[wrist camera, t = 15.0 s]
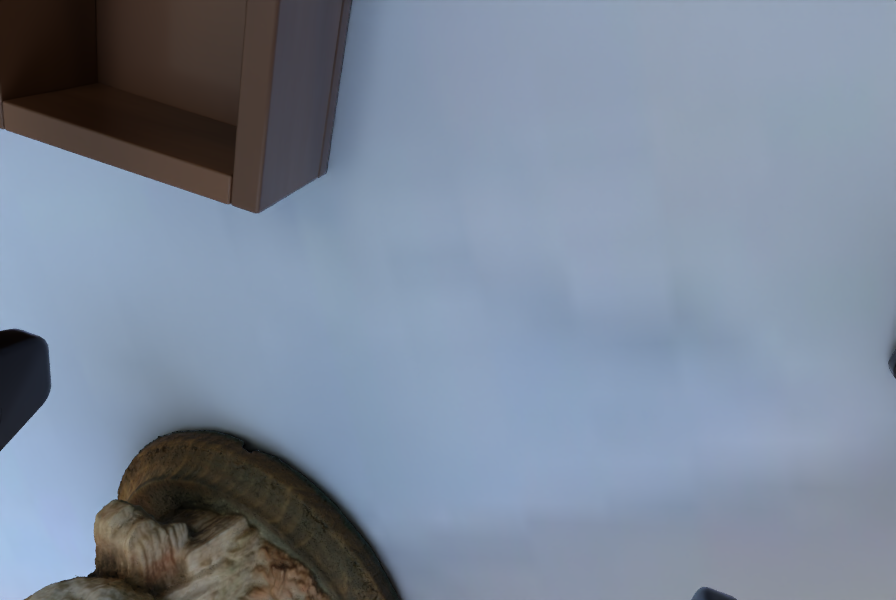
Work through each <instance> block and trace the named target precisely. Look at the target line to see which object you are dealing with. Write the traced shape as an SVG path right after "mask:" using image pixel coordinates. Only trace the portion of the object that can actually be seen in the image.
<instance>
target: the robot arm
mask: <svg viewBox="0 0 896 600" xmlns="http://www.w3.org/2000/svg"><path fill="white" fill-rule="evenodd" d="M889 369H890V371H891V372H892V374H893V376H894V377H895V378H896V349H895V351H894V353H893V354H892V356H891V358H890V360H889ZM50 389H51V375H50V361H49V348H48V344H47V343H46V341H45V340H44V339H43V338H42V337H40V336H37V335H34V334H32V333H29V332H26V331H24V330H20V329H8V330H3V331H0V451H1V450H2V449H3V448H4V447H5V445H6V444H7V443H8V442H9V441H10V440H11V439H12V438H13V437H14V436H15V434H16V433H17V432H18V431H19V430H20V429H21V428H22V427H23V426H24V425H25V423H26V422H27V421H28V420H29V419H30V418H31V417H32V416H33V415H34V414H35V413H36V411H37V410H38V409H39V408H40V407H41V406H42V405H43V403H44V402H45V401H46V399H47V397H48V395H49V393H50ZM691 600H737V599H736V598H734V597H732V596H730V595H727V594H724V593H722V592H719V591H716V590H714V589H711V588H708V587H702V588H700V589H699V590H698V591H697V592H696V593H695V595H694V596H693V598H692V599H691Z"/></svg>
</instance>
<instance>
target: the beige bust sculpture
mask: <svg viewBox="0 0 896 600" xmlns="http://www.w3.org/2000/svg"><path fill="white" fill-rule="evenodd" d="M243 445H244V442H243V441H241V440H239V439H237V438H234V437H232V436H230V435H227V434H222V433H218V432H216V431H205V430H204V431H200V430H199V431H192V432H191V431H187V432H183V431H182V432H181V431H180V432H178V431H176V432H174V433H173V432H172V434H170V435H164V436H162V437H160V436H158V438H157V439H156V440H155V441H154V440H153V442H150V443H149V444H147V445H146V446H145V447H144V448H143V449H142V450H140V451H139V454H138V455H137V456H135V458H134V459H133V460H132V462H131V463H130V465H129V467H128V468H127V469H126V470H125V473H124V475H123V477H122V481H121V482H120V486H119V489H118V500H117V499H115V500H112V501H111V502H110V503H108V504H107V505H106V506H104V507H103V509H102V510H101V511H99V512H98V513H97V515H96V519H95V523H94V538H95V542H96V550H95V551H96V558H95V565H96V569H95V571H94V572H93V573H90V574H89V575H88V577H85V576H84V577H76V578H73V579H69V580H63V581H60V582H58V583H54V584H50V585H48V586H46V587H44V588H42V589H41V590H39V591H37V592H35V593H34V594H33V595H31V596H29V597H28V598H26V599H24V600H399V599H398V597H397V595H396V593H395V591H394V589H393V587H392V585H391V583H390V581H389V580H388V577H387V575H386V573H385V572H384V570H383V569H382V567H381V565H380V563H379V561H378V559H377V558H376V556H375V554H374V552H373V551H372V549H371V548H370V546H369V545H368V543H367V542H366V541H365V540H364V539H363V538H362V536H361V535H360V534H359V533H358V532H357V530H356V529H355V528H354V526H353V525H352V524H351V523H350V522H349V521H348V520H347V519H346V517H345V516H344V514H343V513H342V512H341V511H340V510H339V508H338V507H337V506H336V505H335V504H334V503H333V502H332V501H331V500H330V499H329V498H328V497H326V495H325V494H324V493H323V492H322V491H321V490H319V489H318V488H317V487H316V486H315V485H314V484H313V483H311V482H310V481H309V480H308V479H307V478H306V477H304V476H303V475H302V474H300V473H299V472H297V471H295V470H294V469H292V468H291V467H290V466H288V465H287V464H285V463H284V462H282V461H281V460H279V459H278V458H277V457H273V456H271V455H269V454H265V453H262V452H259V451H258V450H256V451H252V453H250V452H248V451H247V450H245V449H243V448H242V446H243ZM75 576H76V575H75Z"/></svg>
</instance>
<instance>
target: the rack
mask: <svg viewBox="0 0 896 600" xmlns="http://www.w3.org/2000/svg"><path fill="white" fill-rule="evenodd" d="M351 2H352V0H0V128H1V129H6V130H7V131H10V132H13V133H16V134H19V135H22V136H25V137H28V138H31V139H34V140H37V141H40V142H43V143H46V144H49V145H52V146H55V147H58V148H61V149H64V150H67V151H70V152H73V153H76V154H79V155H82V156H85V157H88V158H91V159H94V160H97V161H100V162H103V163H106V164H109V165H112V166H115V167H118V168H121V169H124V170H127V171H130V172H133V173H136V174H139V175H142V176H145V177H148V178H151V179H154V180H157V181H160V182H162V183H165V184H168V185H171V186H174V187H177V188H180V189H183V190H186V191H189V192H192V193H195V194H198V195H201V196H204V197H207V198H210V199H213V200H216V201H219V202H222V203H225V204H231V205H233V206H235V207H238V208H241V209H244V210H247V211H250V212H253V213H260V212H262V211H263V210H265V209H267V208H268V207H270V206H272V205H273V204H275V203H277V202H278V201H280V200H282V199H283V198H285V197H287V196H289V195H290V194H292V193H294V192H295V191H297V190H299V189H300V188H302V187H304V186H305V185H307V184H309V183H310V182H312V181H314V180H315V179H317V178H319V177H321V176H323V175H324V174H326V172H327V166H328V159H329V152H330V145H331V138H332V132H333V125H334V118H335V111H336V104H337V97H338V91H339V84H340V77H341V70H342V63H343V57H344V50H345V43H346V36H347V29H348V22H349V16H350V9H351Z"/></svg>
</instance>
